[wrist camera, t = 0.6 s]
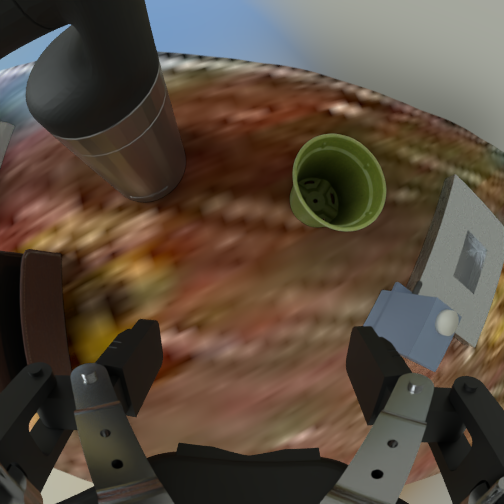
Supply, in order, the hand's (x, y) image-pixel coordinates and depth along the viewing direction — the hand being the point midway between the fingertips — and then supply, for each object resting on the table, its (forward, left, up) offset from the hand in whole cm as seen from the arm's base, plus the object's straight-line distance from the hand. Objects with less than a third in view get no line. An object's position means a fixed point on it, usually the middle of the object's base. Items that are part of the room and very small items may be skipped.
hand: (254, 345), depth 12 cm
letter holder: (-1, -26, -21) cm, 34 cm away
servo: (+7, +17, -21) cm, 28 cm away
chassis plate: (+4, +33, -21) cm, 39 cm away
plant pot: (-9, +12, -21) cm, 26 cm away
